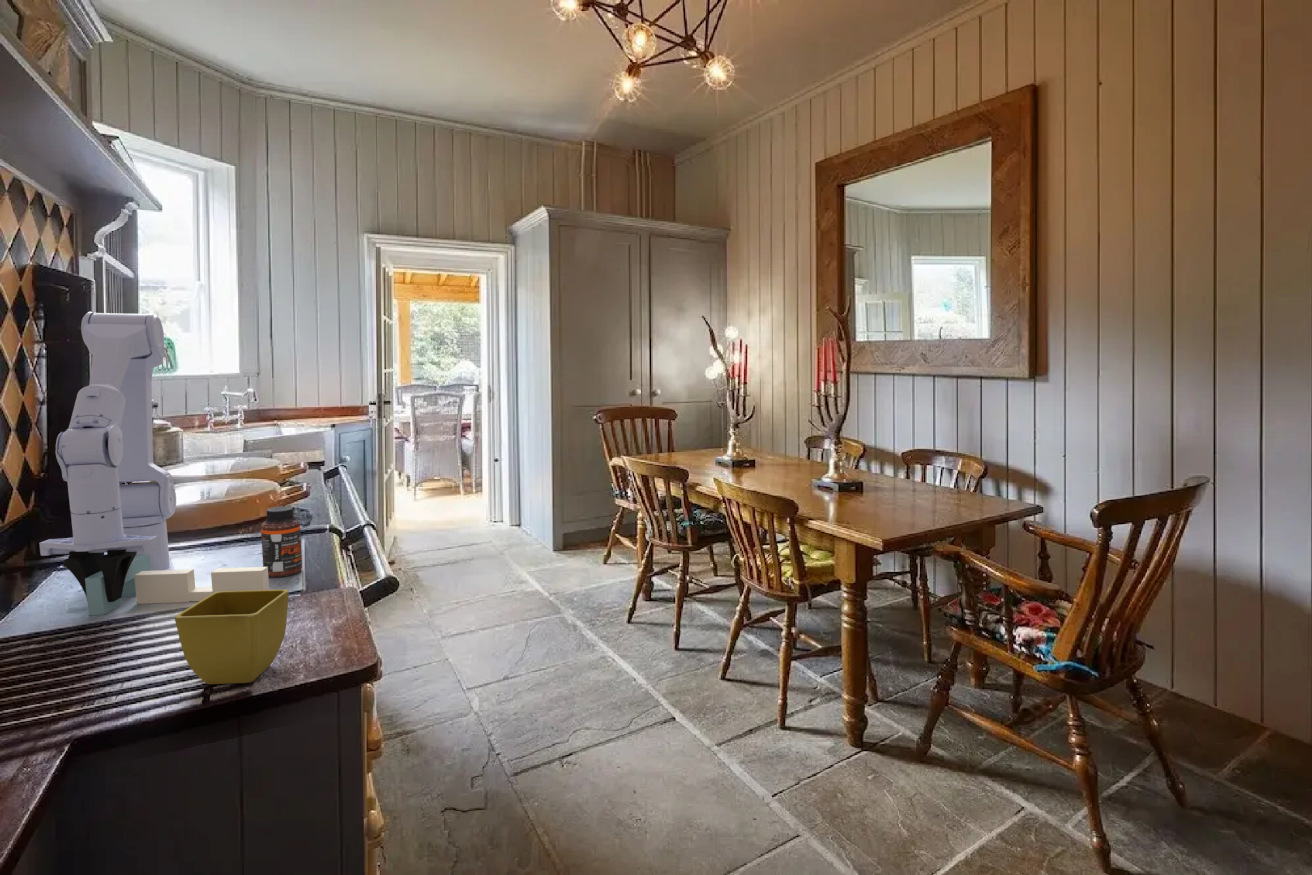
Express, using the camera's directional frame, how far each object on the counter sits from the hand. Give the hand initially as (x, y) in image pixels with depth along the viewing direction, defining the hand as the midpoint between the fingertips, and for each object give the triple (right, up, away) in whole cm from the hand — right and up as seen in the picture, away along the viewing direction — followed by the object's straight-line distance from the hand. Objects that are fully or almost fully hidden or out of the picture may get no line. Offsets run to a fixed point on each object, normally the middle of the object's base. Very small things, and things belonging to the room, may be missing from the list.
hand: (105, 600), depth 101 cm
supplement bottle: (+17, 0, +17) cm, 24 cm away
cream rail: (+12, -1, +5) cm, 13 cm away
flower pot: (+32, -4, -20) cm, 38 cm away
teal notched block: (0, -1, +4) cm, 4 cm away
